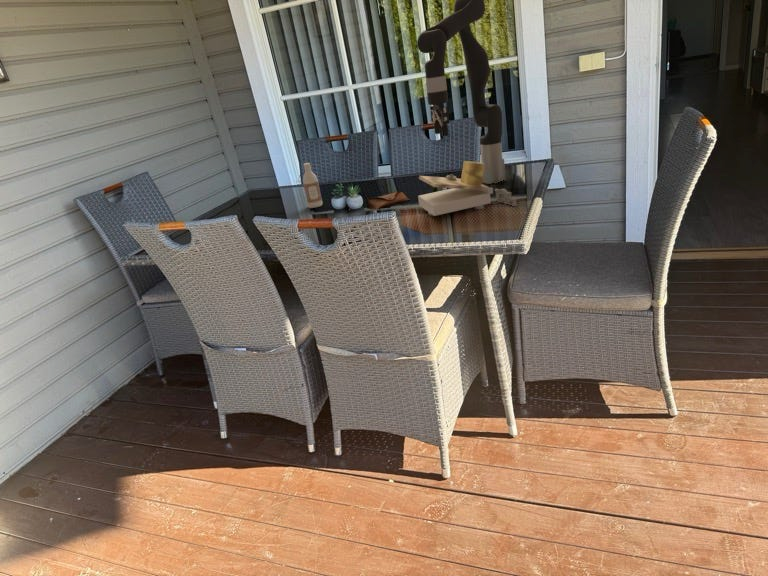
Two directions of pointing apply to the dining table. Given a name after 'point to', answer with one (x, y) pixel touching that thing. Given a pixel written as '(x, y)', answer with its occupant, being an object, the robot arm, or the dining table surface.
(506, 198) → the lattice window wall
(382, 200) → the sunglasses case
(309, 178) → the tan bottle
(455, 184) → the instrument plate
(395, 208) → the dining table surface
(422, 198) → the base
